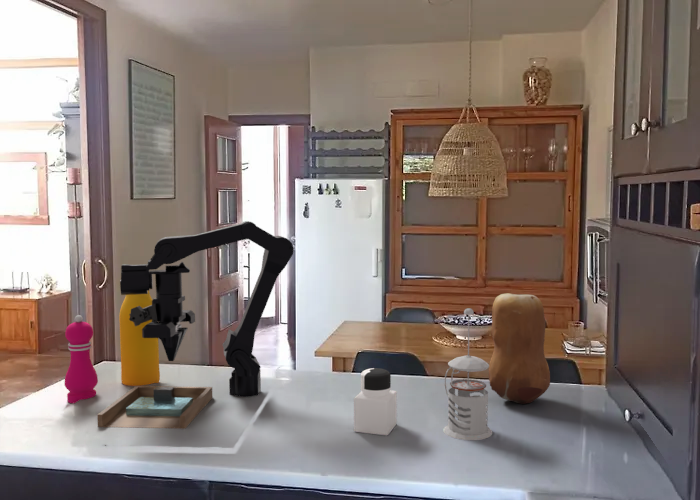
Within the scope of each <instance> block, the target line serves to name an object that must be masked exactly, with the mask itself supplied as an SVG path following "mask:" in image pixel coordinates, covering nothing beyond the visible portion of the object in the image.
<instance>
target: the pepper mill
mask: <svg viewBox="0 0 700 500" xmlns="http://www.w3.org/2000/svg"><path fill="white" fill-rule="evenodd" d="M83 320H84V319H83V316H82V315H80V314H77V315H76V316H75V317H74V321H73V322H72V323H70V324H68V326H66V328H65V335H64V337H65V339H66V340H67V341H68V344H67V346H68V349H67V350H69V352H70V362H69V366H68V368H67V371H66V373H65V378H64V387H65V388H66V390H68V391H69V392H68V393H67V396H66V398H67V403H70V404H73V405H74V404H76V403H77V402H79V401H80V400H81V401H82V400H88V399H91V398H93V397H95V396H96V395H97V391H96V389H95V388H96V386H97V385H98V383H99V380H98V379H99V378H98V374H97V371H96V369H95V367H94V365H93V363H92V361H91V360H92V359H91V355H90V351H91V350H90V349H92V341H91V339H92V338H93V337H94V329H93V328H94V327H92V325H91V324H90V323H88V322H86V321H83Z"/></svg>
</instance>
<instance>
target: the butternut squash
mask: <svg viewBox="0 0 700 500" xmlns="http://www.w3.org/2000/svg"><path fill="white" fill-rule="evenodd" d="M544 309H545V308H544V306H543V303H542V301H541V299H540V298H538V297H537V296H536V295H533V294H514V293H508V292H506V293H501V294H499V295H497V296H496V297H495V299H494V301H493V303H492V309H491V331H490V332H491V337H492V340H493V345H494V348H493V352H492V355H491V358H490V361H489V363H488V364H489V367H488V381H489V386H490V388H491V390H492V391H493V392H494V393H496V394H497V395H498V397H499V398H502V399H504V400H507V401H510V402H514V403H515V404H520V405H525V404H526V405H527V404H529V403H533V402H534V401H536V400H537V399H539V398H540V397H541V396H542V395H543V394H545V393H546V392H547V390H548V389H549V388H550V385H551V372H550V367H549V363H548V360H547V359H546V356H545V351H544V350H545V349H544V345H545V337H546V317H545V313H544V312H545V311H544Z"/></svg>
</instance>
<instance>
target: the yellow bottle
mask: <svg viewBox="0 0 700 500" xmlns="http://www.w3.org/2000/svg"><path fill="white" fill-rule="evenodd" d="M152 300H153V298H152V296H151V293H150V290H149V291H148V294H135V295H125V297H124V299H123V302H122V303H121V307H120V308H119V309H120V311H119V317H118V318H119V339H120V340H119V342H120V345H119V346H120V366H121V367H120V370H121V371H120V374H121V375H120V380H121V384H123V385H124V386H132V387H135V386H149V385H151V384H159V383H160V381H161V380H160V379H161V374H160V373H161V372H160V350H159V338H143V337H142V329H143V328H144V327H145V325H147V324H149V323H150V322H152V320H149V321H146V322H144V323H141V324H140V325H138V326H135V324H134V322H133V321H130V320H129V318H130V315H129V314H130V313H131V309H132V308H135V307H138V306H141V307H142V308H145V307H147V306H150V305H152Z"/></svg>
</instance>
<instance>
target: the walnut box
mask: <svg viewBox="0 0 700 500" xmlns="http://www.w3.org/2000/svg"><path fill="white" fill-rule="evenodd" d="M156 387H174V393H175V397H177V398H193V403H192V404H191V405H190V406H189V407H188V408H187V409H186V410H185V411H184V412H183V413H182V414H181V415H180V416H133V415H126V408H127V407H128V406H130V405H131V404H132V403H133V402H135V401H136V400H137V399H138V398H140V397H154V391H153V390H154V389H155V388H156ZM213 398H214V397H213V386H173V385H171V386H170V385H169V386H166V385H162V386H161V385H141V386H133V388H131V389H129V390H128V391H127V392H125V393H124V394H123V395H121V396H120V397H119V398H117V399H116V400H115V401H113V402H112V403H110V404H109V406H107V407H105V408H104V409H103V410H101V411H100V412H99V413H97V414H96V416H97V417H96V418H97V428H129V429H130V428H133V429H134V428H136V429H140V428H141V429H182V430H184V429H185V430H186V429H187V427H188V426H189V425H190V423H192V422H193V421H194V419H195V418H197V416H198V415H199V414H200V413H201V412H202V410H203V409H204V408H205V407H206V406H207V405H208V403H209V402H210V401H211V400H212V399H213Z"/></svg>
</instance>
